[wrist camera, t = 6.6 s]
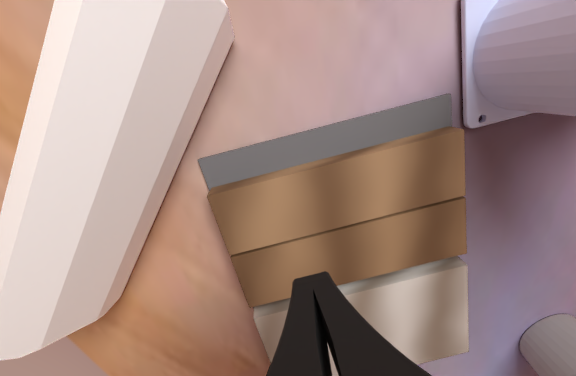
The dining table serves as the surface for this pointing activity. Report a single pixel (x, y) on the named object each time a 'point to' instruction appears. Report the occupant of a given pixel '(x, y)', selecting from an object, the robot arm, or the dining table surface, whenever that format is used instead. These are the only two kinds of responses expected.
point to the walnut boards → (346, 214)
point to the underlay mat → (327, 141)
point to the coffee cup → (551, 346)
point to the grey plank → (398, 310)
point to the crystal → (99, 155)
